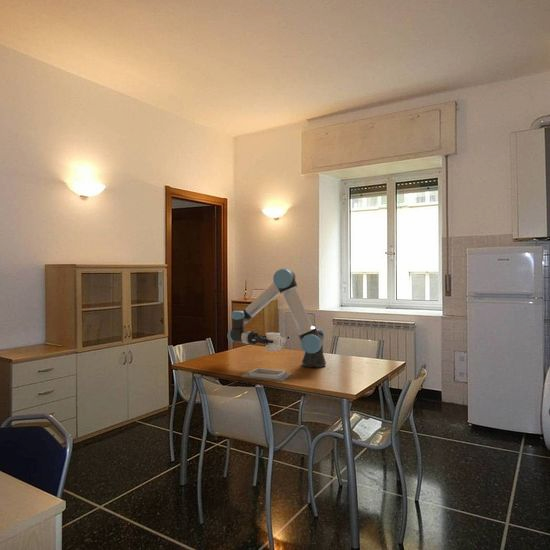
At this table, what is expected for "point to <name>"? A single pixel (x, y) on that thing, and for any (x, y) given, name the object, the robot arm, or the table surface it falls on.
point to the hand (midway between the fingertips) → (282, 341)
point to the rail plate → (267, 375)
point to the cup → (273, 346)
